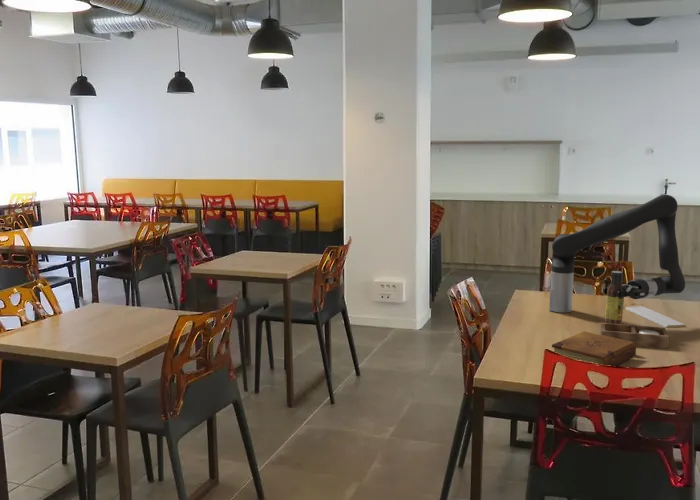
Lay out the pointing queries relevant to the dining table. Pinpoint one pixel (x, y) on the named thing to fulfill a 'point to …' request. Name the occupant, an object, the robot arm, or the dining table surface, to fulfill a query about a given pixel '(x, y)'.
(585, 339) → the diary
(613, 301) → the sauce bottle
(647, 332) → the white oval piece
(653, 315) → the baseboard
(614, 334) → the caddy
